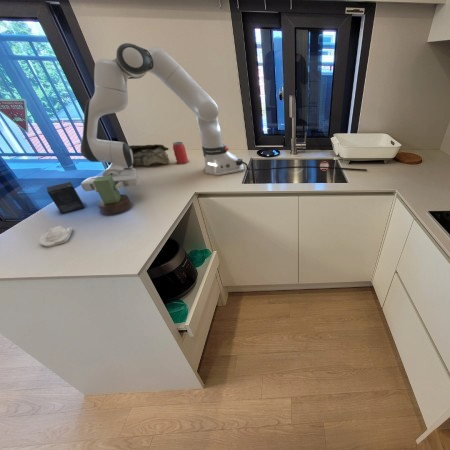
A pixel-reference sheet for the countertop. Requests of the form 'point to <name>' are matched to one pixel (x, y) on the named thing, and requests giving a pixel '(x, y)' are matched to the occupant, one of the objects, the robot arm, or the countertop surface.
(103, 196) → the block
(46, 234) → the white flat lumpy piece
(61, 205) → the box
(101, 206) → the cylinder
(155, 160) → the hollow geode rock
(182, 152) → the beer can
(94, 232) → the countertop surface
